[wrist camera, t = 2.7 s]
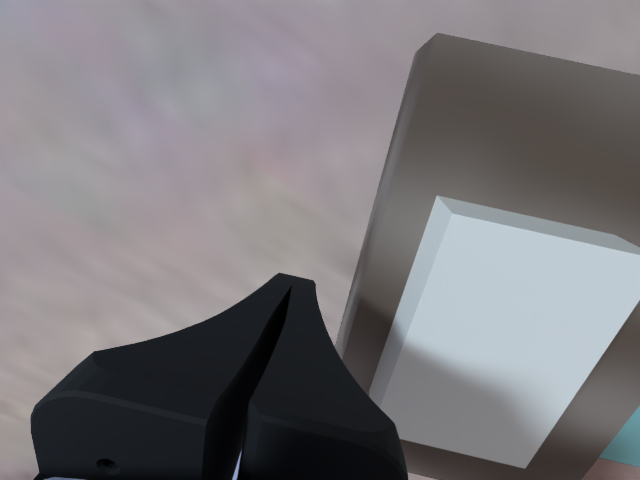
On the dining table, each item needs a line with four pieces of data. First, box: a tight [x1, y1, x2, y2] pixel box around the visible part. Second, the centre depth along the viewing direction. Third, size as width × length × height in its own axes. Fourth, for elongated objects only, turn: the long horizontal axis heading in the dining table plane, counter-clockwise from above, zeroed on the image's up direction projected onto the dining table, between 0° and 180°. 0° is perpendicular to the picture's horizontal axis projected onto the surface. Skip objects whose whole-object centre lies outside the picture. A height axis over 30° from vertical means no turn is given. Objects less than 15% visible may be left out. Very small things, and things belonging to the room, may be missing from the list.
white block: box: [369, 196, 640, 469], centre depth 12 cm, size 9×6×2 cm, turn 168°
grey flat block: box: [335, 33, 640, 480], centre depth 15 cm, size 18×12×4 cm, turn 168°
